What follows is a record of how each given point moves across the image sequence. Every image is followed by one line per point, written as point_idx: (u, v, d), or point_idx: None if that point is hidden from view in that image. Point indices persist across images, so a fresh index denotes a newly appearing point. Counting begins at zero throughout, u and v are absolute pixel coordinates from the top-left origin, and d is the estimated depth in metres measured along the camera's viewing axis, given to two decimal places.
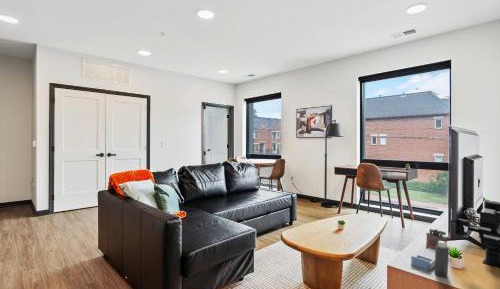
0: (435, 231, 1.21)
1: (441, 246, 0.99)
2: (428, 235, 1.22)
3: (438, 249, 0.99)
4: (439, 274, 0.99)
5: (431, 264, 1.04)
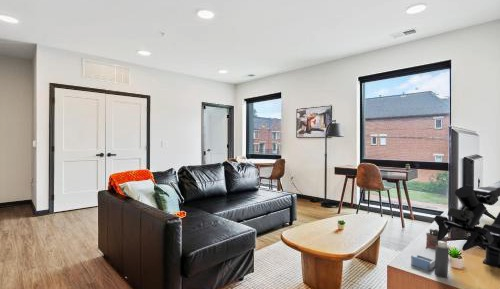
0: (435, 231, 1.21)
1: (441, 246, 0.99)
2: (428, 235, 1.22)
3: (438, 249, 0.99)
4: (439, 274, 0.99)
5: (431, 264, 1.04)
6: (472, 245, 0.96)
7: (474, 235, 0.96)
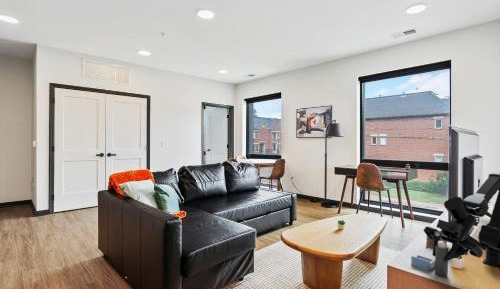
0: None
1: (441, 246, 0.99)
2: None
3: (438, 249, 0.99)
4: (439, 274, 0.99)
5: (431, 264, 1.04)
6: (454, 256, 0.97)
7: (456, 245, 0.96)
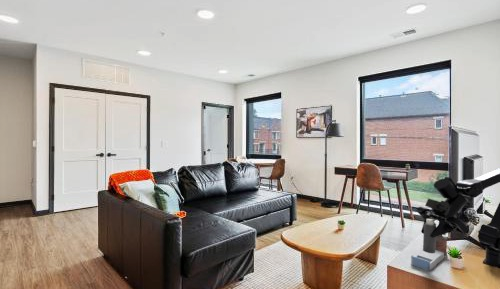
0: None
1: (428, 223, 1.04)
2: None
3: (425, 226, 1.04)
4: (426, 250, 1.04)
5: (431, 264, 1.04)
6: (440, 233, 1.01)
7: (442, 222, 1.01)
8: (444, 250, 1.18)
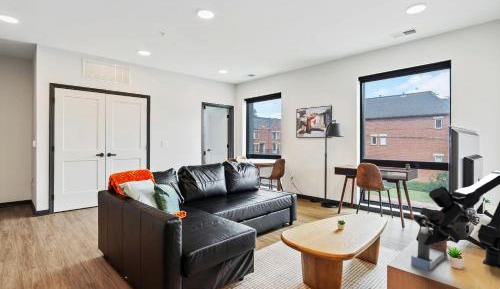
0: None
1: (422, 231, 1.06)
2: None
3: (419, 234, 1.07)
4: (420, 257, 1.06)
5: (431, 264, 1.04)
6: (434, 241, 1.04)
7: (435, 231, 1.03)
8: (444, 250, 1.18)
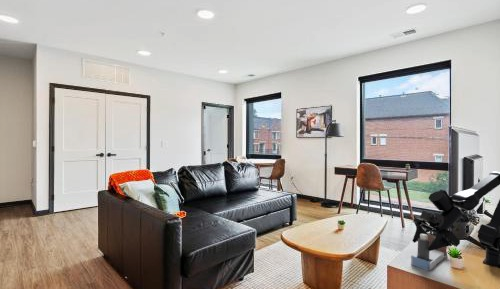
0: None
1: (422, 238, 1.06)
2: (428, 235, 1.22)
3: (419, 241, 1.07)
4: None
5: (431, 264, 1.04)
6: (438, 246, 1.02)
7: (439, 236, 1.01)
8: (444, 250, 1.18)
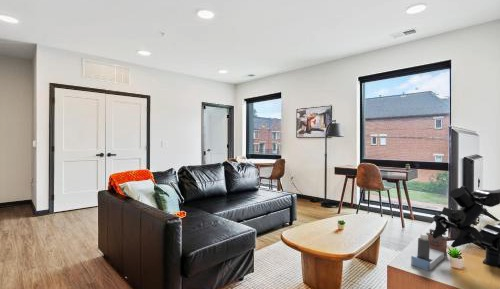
0: None
1: (422, 238, 1.06)
2: (428, 235, 1.22)
3: (419, 241, 1.07)
4: None
5: (431, 264, 1.04)
6: (461, 243, 1.02)
7: (463, 233, 1.01)
8: (444, 250, 1.18)
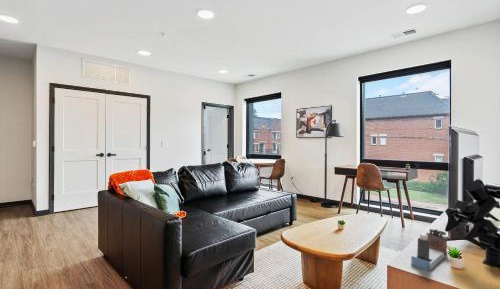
0: (435, 231, 1.21)
1: (422, 238, 1.06)
2: (428, 235, 1.22)
3: (419, 241, 1.07)
4: None
5: (431, 264, 1.04)
6: (475, 236, 1.02)
7: (477, 225, 1.01)
8: (444, 250, 1.18)
